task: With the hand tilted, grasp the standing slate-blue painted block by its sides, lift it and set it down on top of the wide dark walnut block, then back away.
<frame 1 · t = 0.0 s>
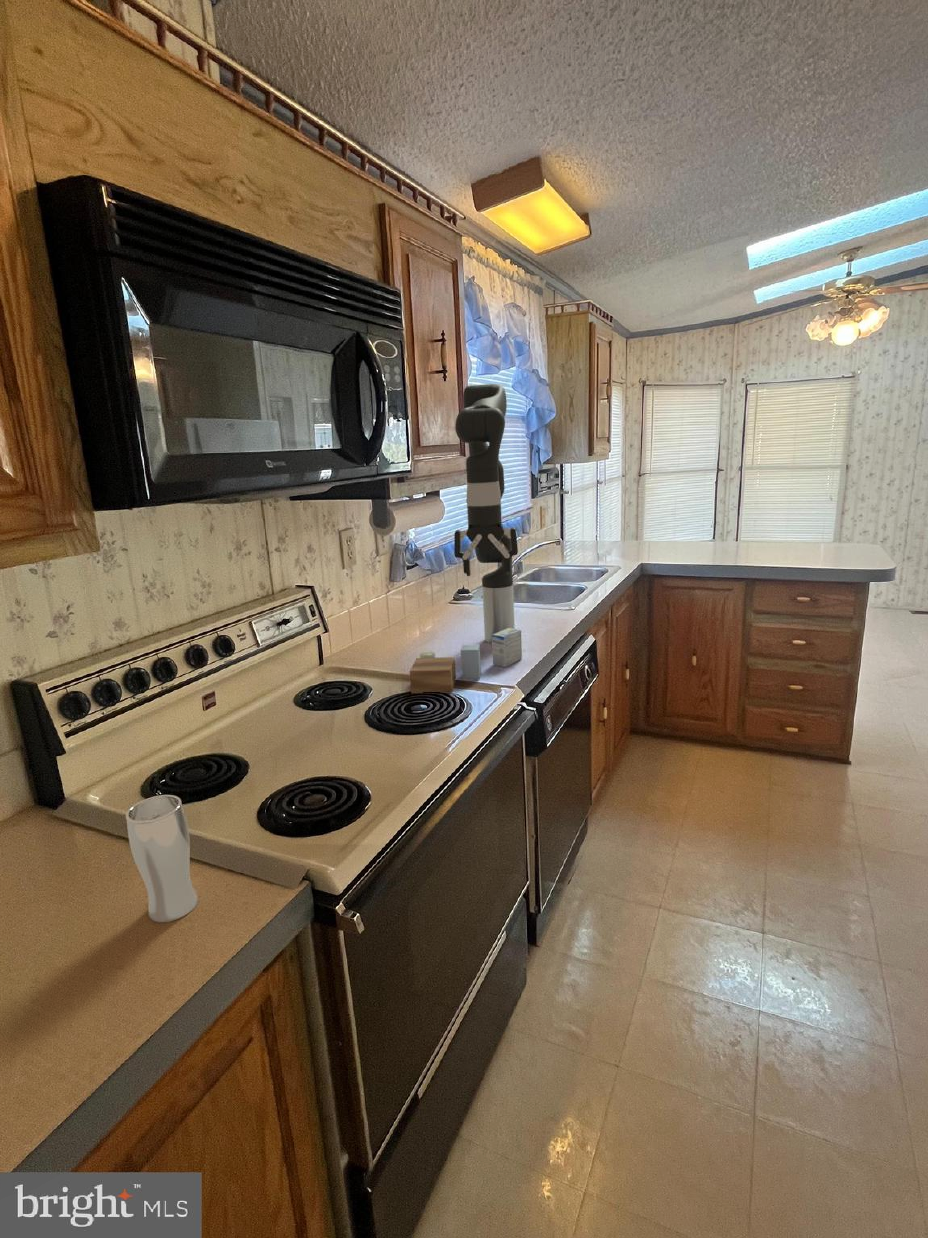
hand: (487, 574, 148), 29 cm above the worktop, tool pointing down, fingers open, 8 cm apart
medicine box: (507, 663, 178), on the worktop
walnut block: (434, 686, 163), on the worktop
beer glass: (173, 908, 87), on the worktop
slate-blue block: (471, 676, 168), on the worktop
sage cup: (428, 671, 174), on the worktop
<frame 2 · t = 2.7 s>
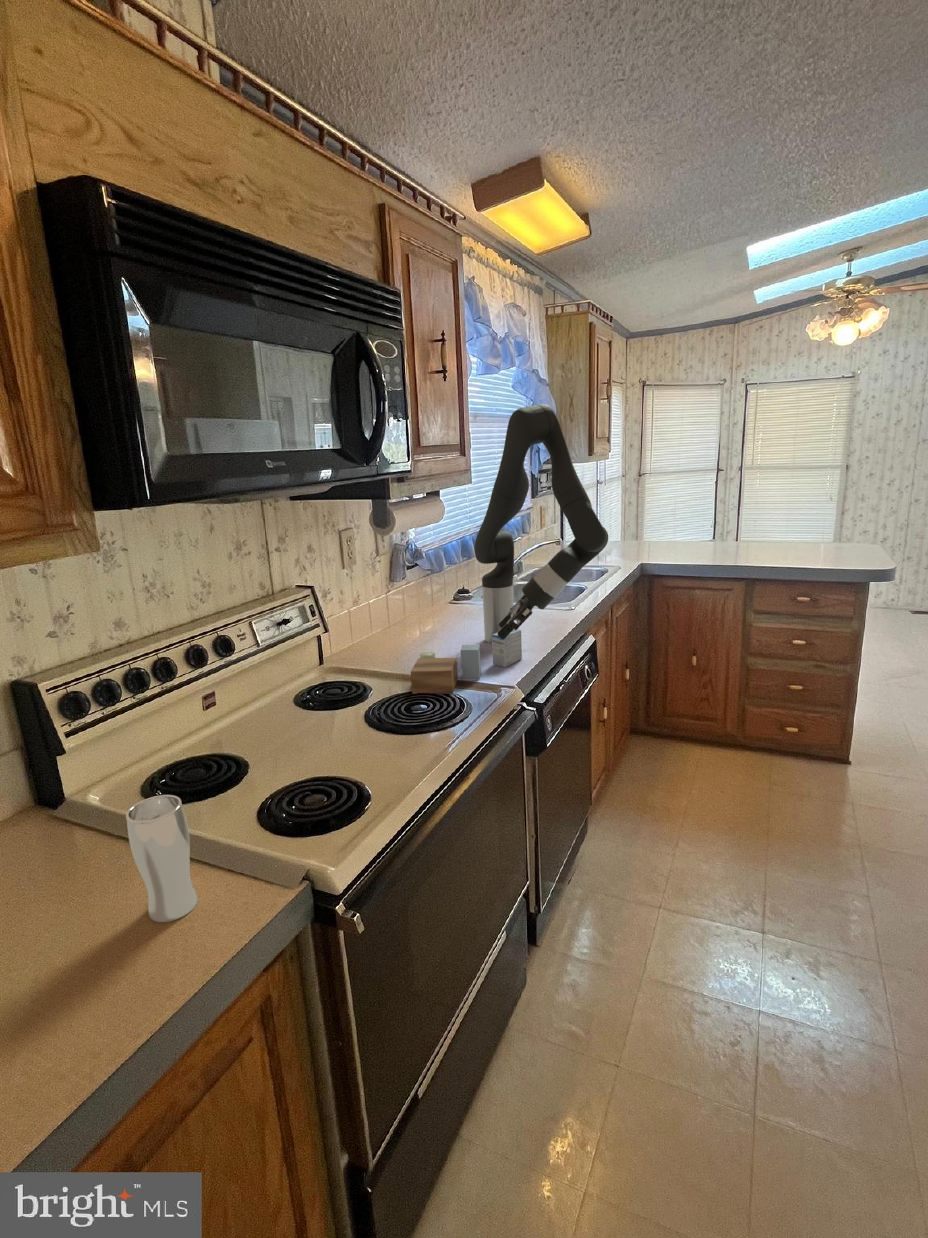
hand: (500, 632, 164), 12 cm above the worktop, tool tilted 45°, fingers open, 8 cm apart
nothing on the worktop moved.
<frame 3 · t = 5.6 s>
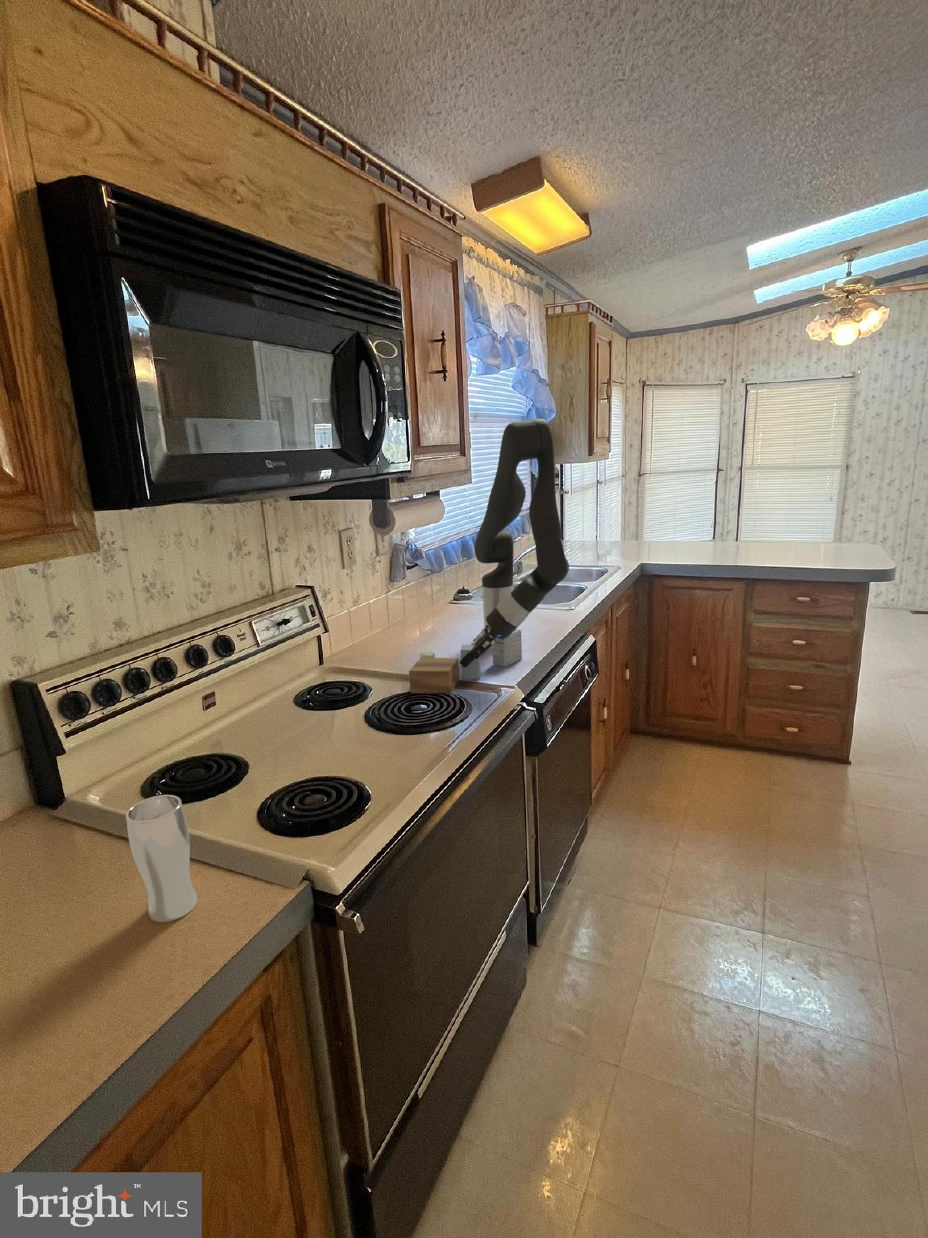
hand: (463, 661, 167), 4 cm above the worktop, tool tilted 45°, fingers closed on slate-blue block, 4 cm apart
slate-blue block: (471, 676, 168), on the worktop, touching gripper
everything else where it was.
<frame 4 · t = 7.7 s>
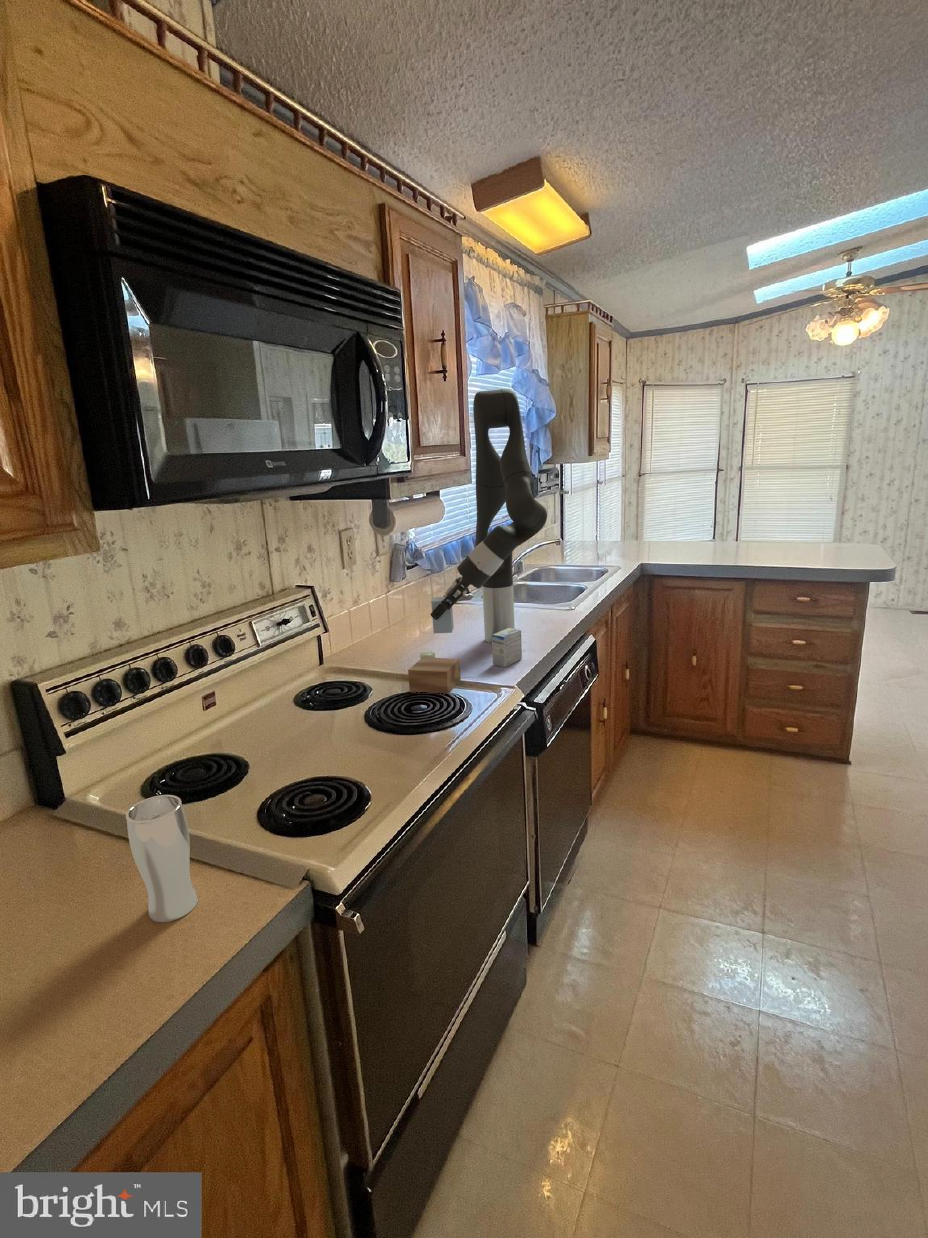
hand: (434, 614, 160), 18 cm above the worktop, tool tilted 45°, fingers closed on slate-blue block, 4 cm apart
slate-blue block: (443, 630, 161), point 14 cm above the worktop, touching gripper
when the fingers open (11 cm above the worktop, at t = 9.8 s): slate-blue block drops 2 cm, resting on walnut block.
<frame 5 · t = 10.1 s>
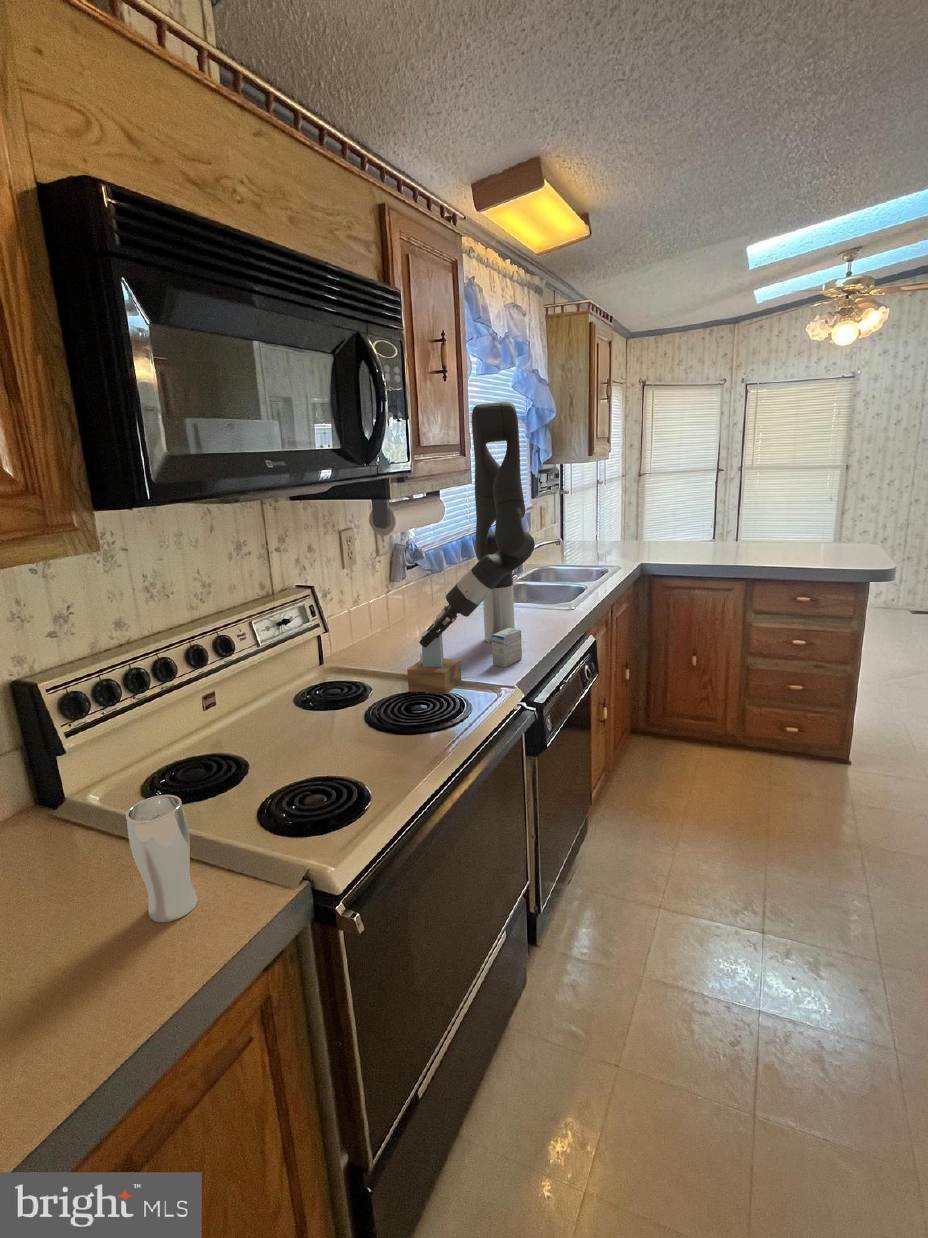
hand: (424, 640, 161), 12 cm above the worktop, tool tilted 45°, fingers open, 6 cm apart
walnut block: (435, 687, 163), on the worktop, touching slate-blue block
slate-blue block: (433, 664, 162), point 6 cm above the worktop, touching walnut block
everything else where it was.
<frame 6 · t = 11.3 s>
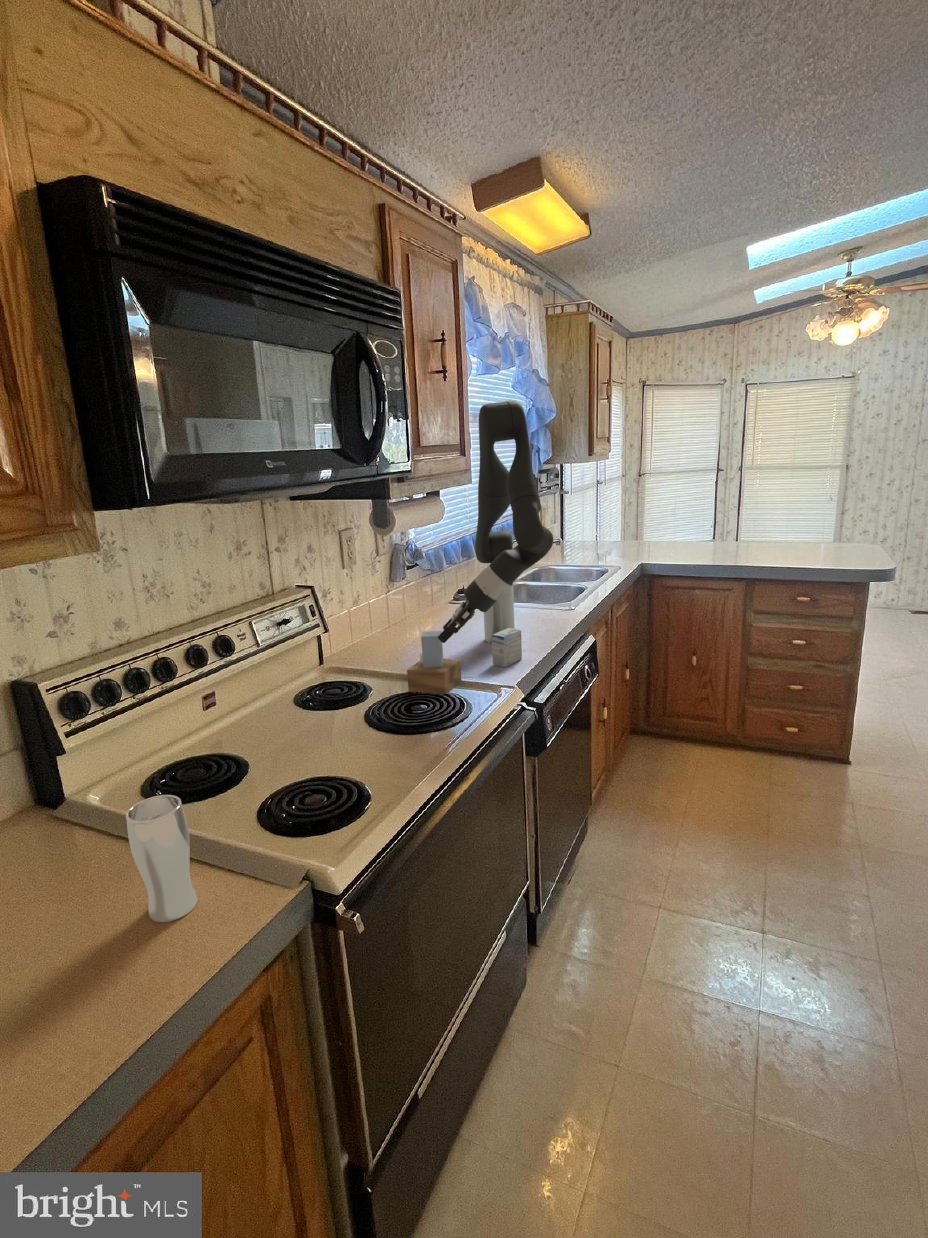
hand: (443, 635, 160), 13 cm above the worktop, tool tilted 45°, fingers open, 8 cm apart
nothing on the worktop moved.
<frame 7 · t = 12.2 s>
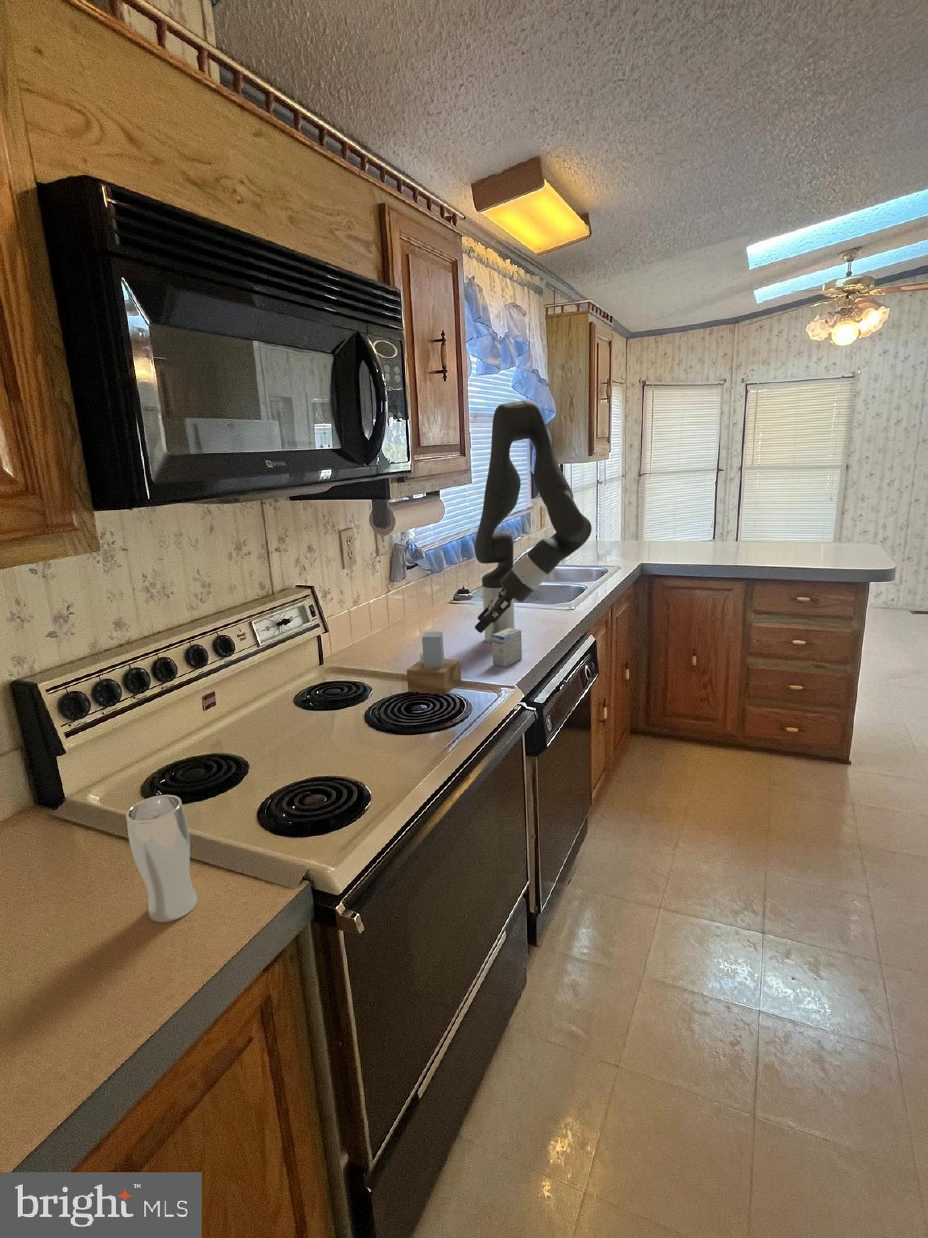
hand: (478, 625, 159), 15 cm above the worktop, tool tilted 45°, fingers open, 8 cm apart
nothing on the worktop moved.
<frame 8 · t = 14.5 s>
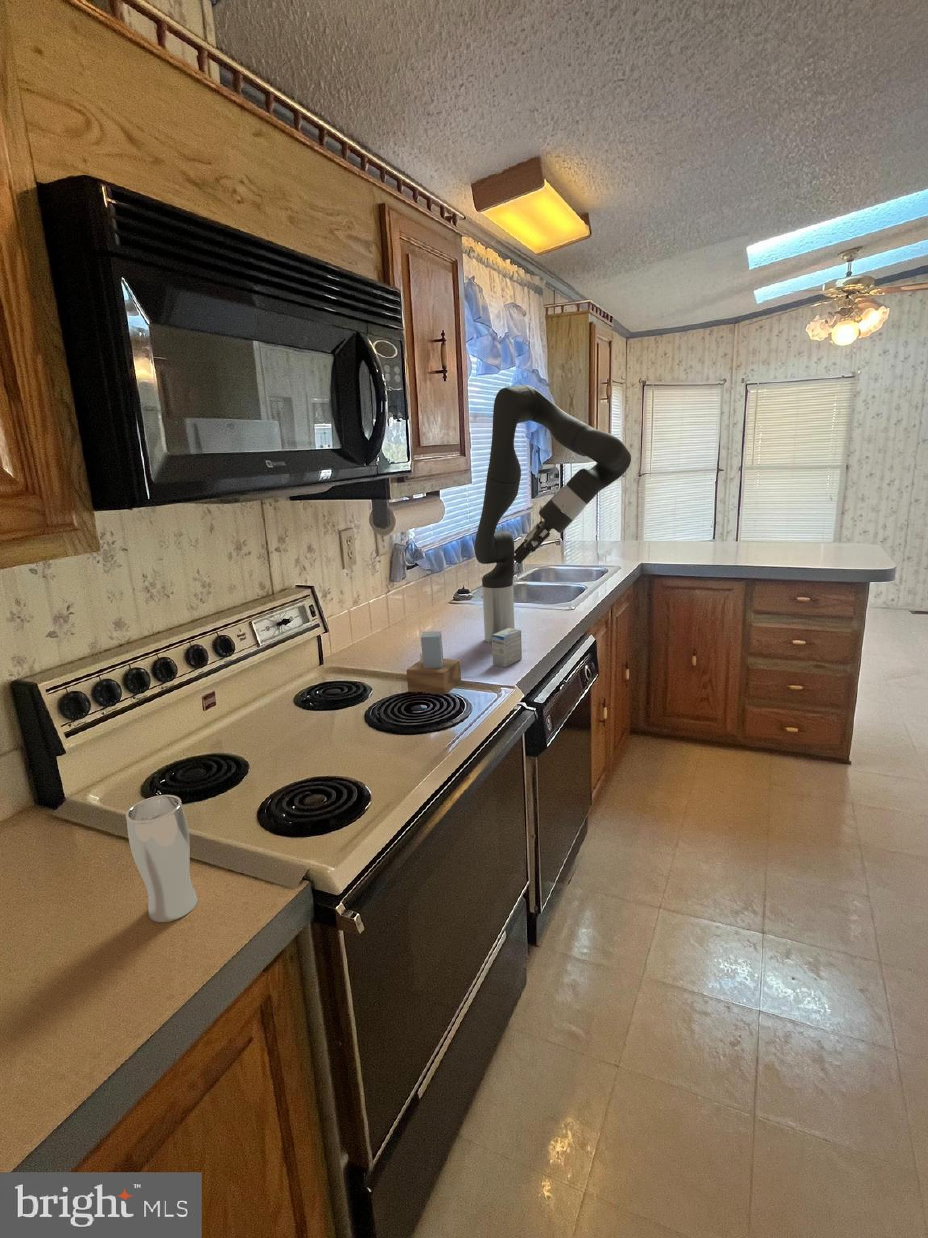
hand: (516, 557, 159), 31 cm above the worktop, tool tilted 45°, fingers open, 8 cm apart
nothing on the worktop moved.
at the end: slate-blue block inside the target area on the walnut block (0.3 cm from its centre), point 6.0 cm above the walnut block's base; slate-blue block tilted 1°; the gripper is holding nothing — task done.
